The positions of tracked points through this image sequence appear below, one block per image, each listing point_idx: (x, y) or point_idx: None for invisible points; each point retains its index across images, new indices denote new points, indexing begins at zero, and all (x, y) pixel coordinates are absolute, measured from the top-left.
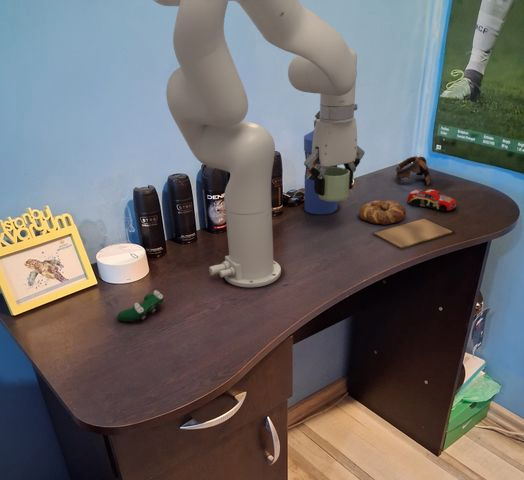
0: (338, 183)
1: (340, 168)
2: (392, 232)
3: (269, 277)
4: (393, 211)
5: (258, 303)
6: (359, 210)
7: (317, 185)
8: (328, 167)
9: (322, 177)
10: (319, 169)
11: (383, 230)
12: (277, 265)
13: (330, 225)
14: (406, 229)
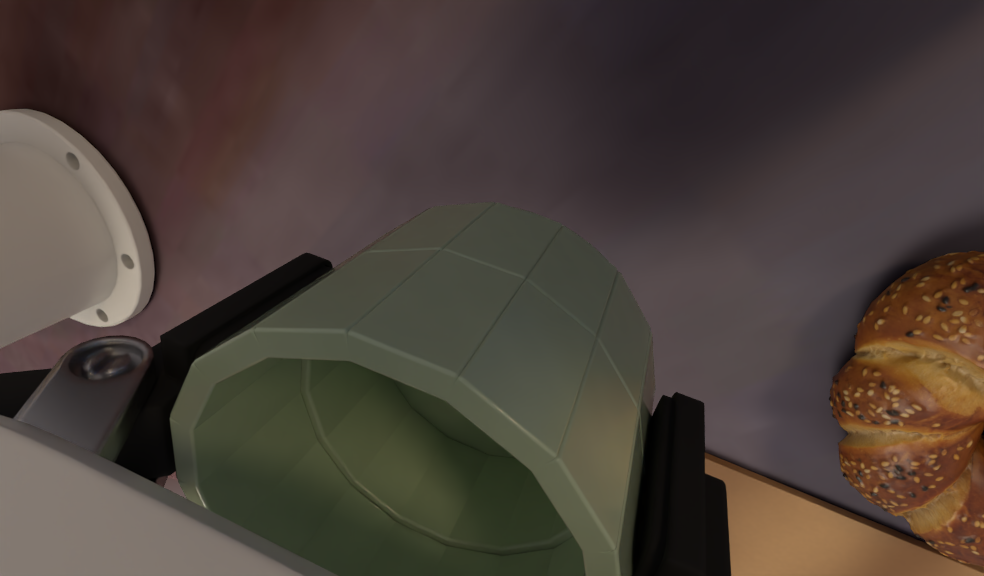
0: (349, 556)
1: (586, 564)
2: (750, 525)
3: (86, 314)
4: (966, 549)
5: (52, 348)
6: (946, 277)
7: None
8: (458, 386)
9: (163, 478)
10: (111, 449)
11: (748, 481)
12: (131, 284)
13: (645, 163)
14: (841, 574)
